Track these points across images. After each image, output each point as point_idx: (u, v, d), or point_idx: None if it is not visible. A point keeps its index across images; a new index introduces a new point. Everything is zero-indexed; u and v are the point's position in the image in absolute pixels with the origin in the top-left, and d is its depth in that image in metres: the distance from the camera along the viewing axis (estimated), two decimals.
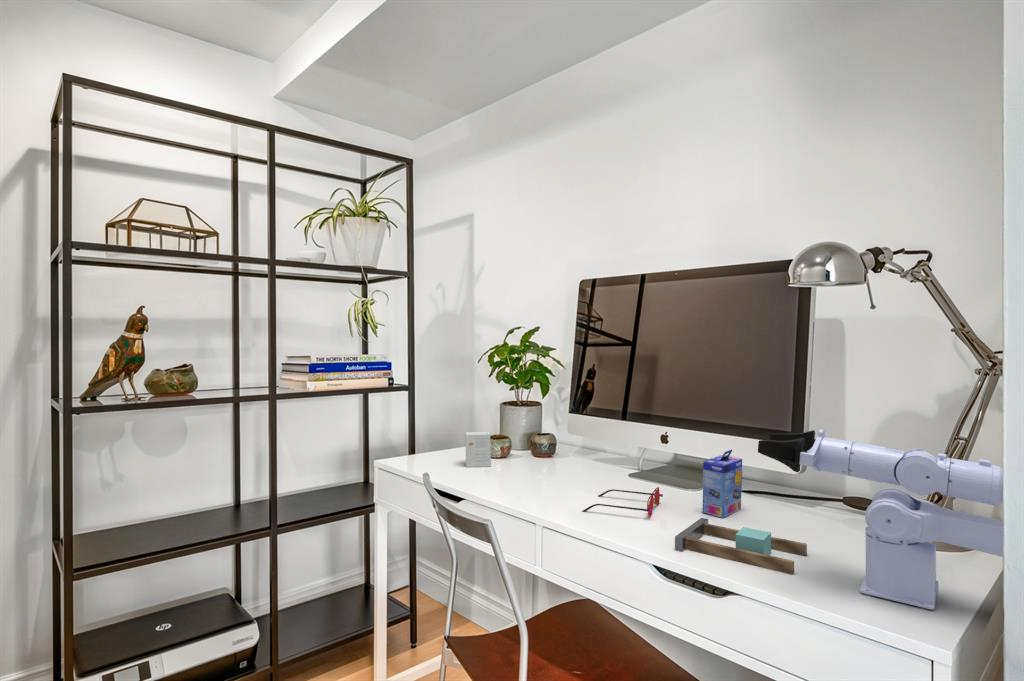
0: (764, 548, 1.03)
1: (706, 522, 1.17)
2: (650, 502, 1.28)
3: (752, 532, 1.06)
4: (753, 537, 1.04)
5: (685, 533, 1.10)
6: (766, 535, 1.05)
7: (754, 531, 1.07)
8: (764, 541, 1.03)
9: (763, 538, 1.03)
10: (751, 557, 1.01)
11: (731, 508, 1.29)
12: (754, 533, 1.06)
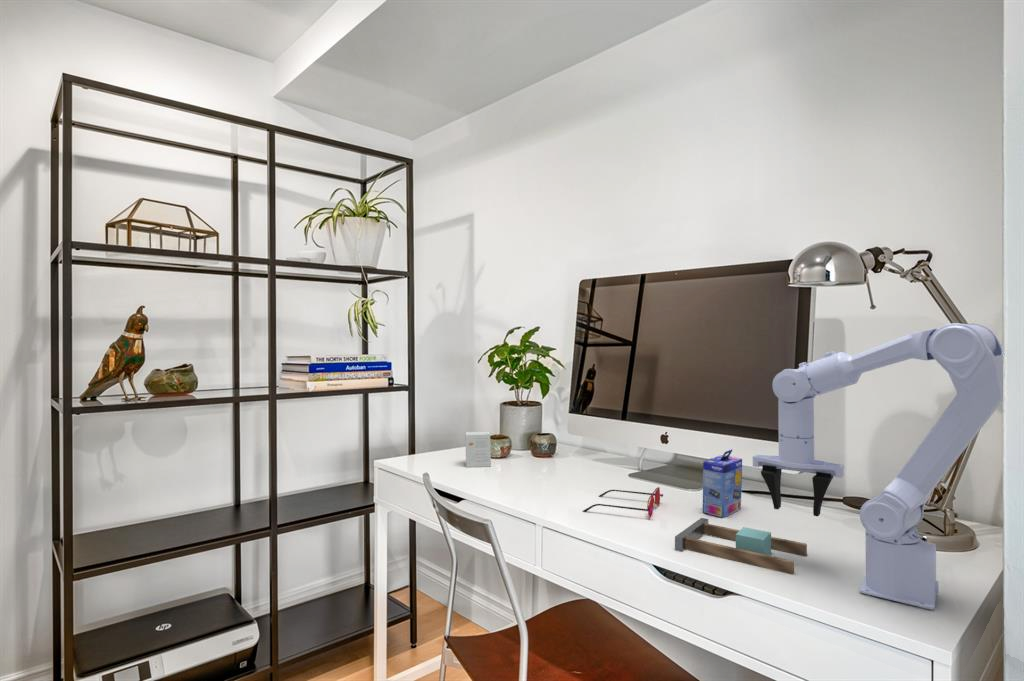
0: (764, 548, 1.03)
1: (706, 522, 1.17)
2: (650, 502, 1.28)
3: (752, 532, 1.06)
4: (753, 537, 1.04)
5: (685, 533, 1.10)
6: (766, 535, 1.05)
7: (754, 531, 1.07)
8: (764, 541, 1.03)
9: (763, 538, 1.03)
10: (751, 557, 1.01)
11: (731, 508, 1.29)
12: (754, 533, 1.06)
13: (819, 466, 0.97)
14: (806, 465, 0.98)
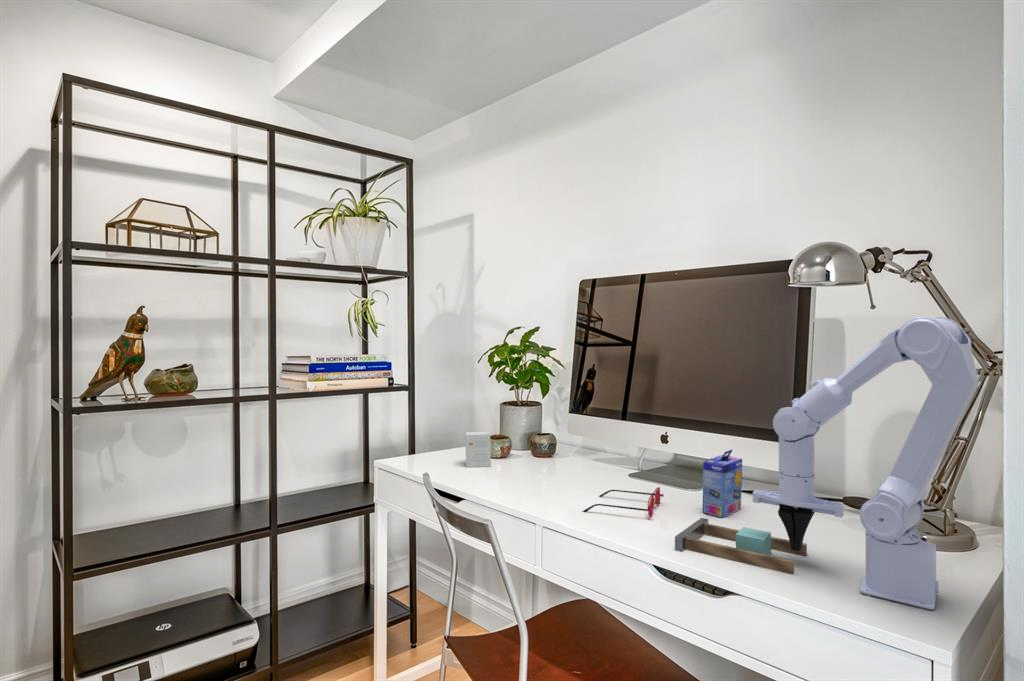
0: (764, 548, 1.03)
1: (706, 522, 1.17)
2: (651, 502, 1.27)
3: (752, 532, 1.06)
4: (753, 537, 1.04)
5: (685, 533, 1.10)
6: (766, 535, 1.05)
7: (754, 531, 1.07)
8: (764, 541, 1.03)
9: (763, 538, 1.03)
10: (751, 557, 1.01)
11: (731, 508, 1.29)
12: (754, 533, 1.06)
13: (819, 505, 0.97)
14: (806, 504, 0.98)
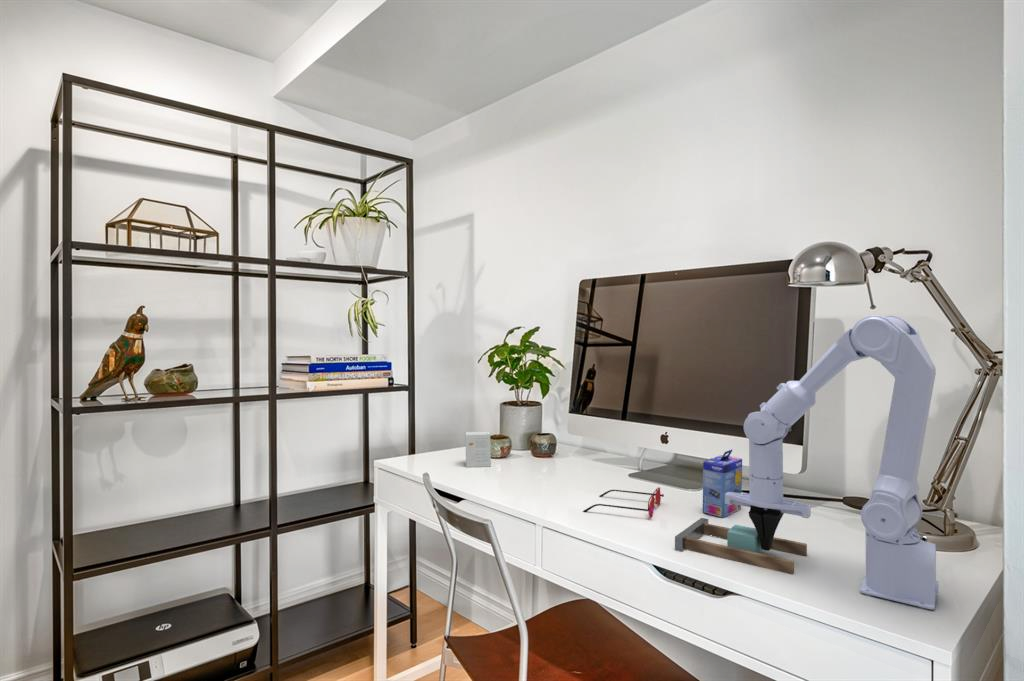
0: (755, 545, 1.04)
1: (706, 522, 1.17)
2: (651, 502, 1.27)
3: (744, 529, 1.07)
4: (744, 534, 1.05)
5: (685, 533, 1.10)
6: None
7: (746, 528, 1.08)
8: (755, 538, 1.04)
9: (754, 535, 1.04)
10: (751, 557, 1.01)
11: (731, 508, 1.29)
12: (745, 531, 1.07)
13: (787, 506, 1.00)
14: (774, 505, 1.01)
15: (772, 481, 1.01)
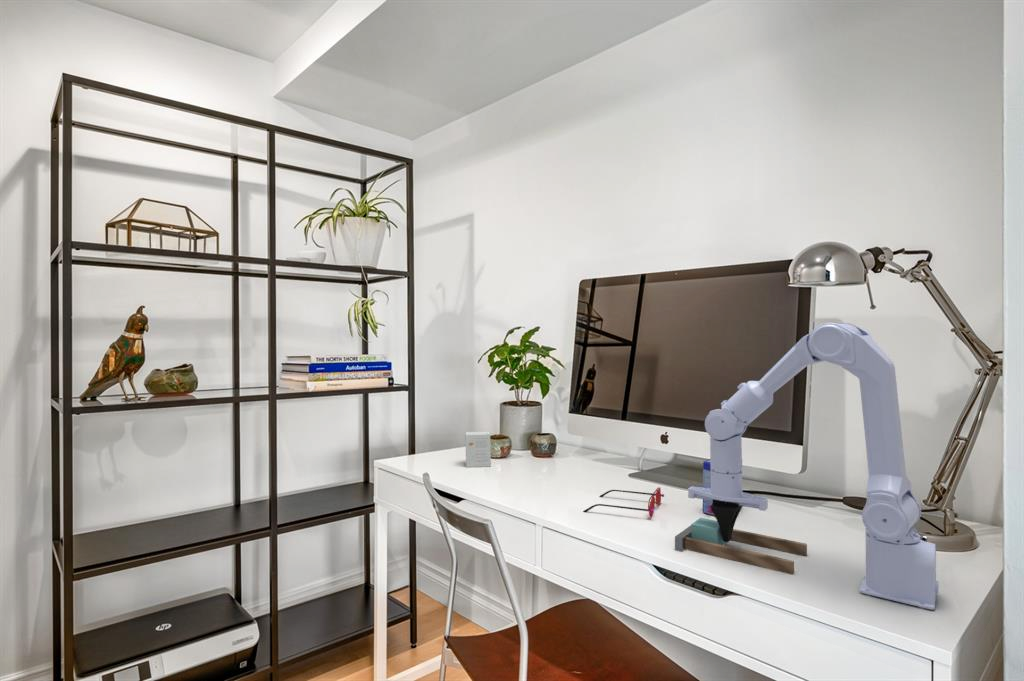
0: (717, 537, 1.08)
1: None
2: (651, 502, 1.27)
3: (708, 522, 1.12)
4: (707, 526, 1.09)
5: (685, 533, 1.10)
6: None
7: (709, 521, 1.12)
8: (717, 530, 1.08)
9: (716, 528, 1.08)
10: (751, 557, 1.01)
11: None
12: (709, 523, 1.11)
13: (745, 500, 1.05)
14: (733, 498, 1.06)
15: (731, 475, 1.06)
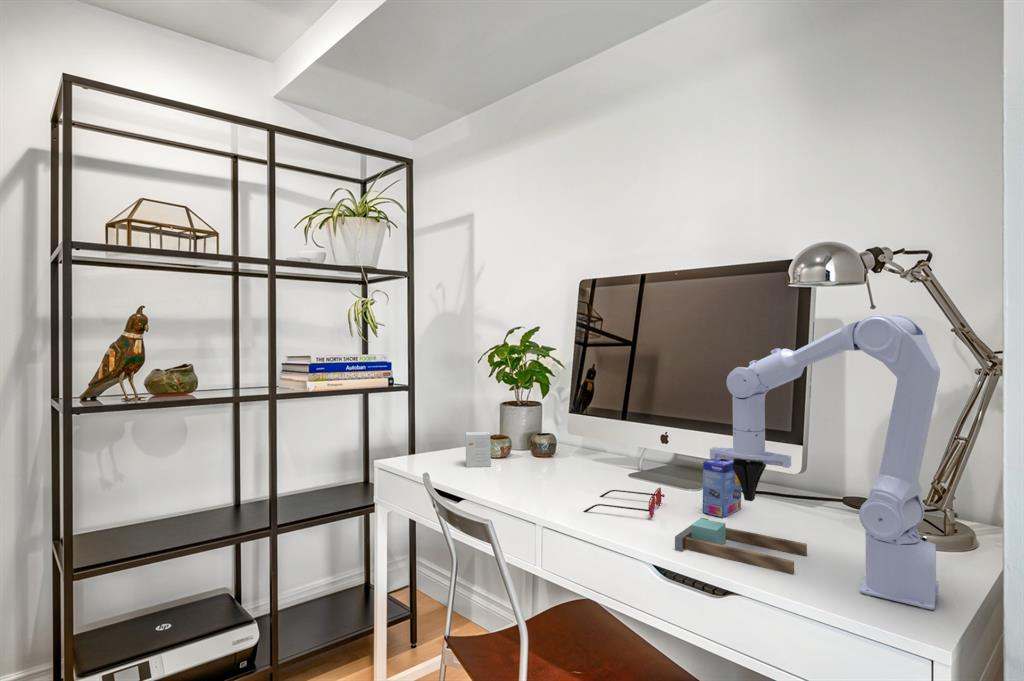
0: (717, 538, 1.08)
1: None
2: (652, 502, 1.27)
3: (708, 523, 1.12)
4: (707, 527, 1.09)
5: (685, 533, 1.10)
6: (720, 526, 1.10)
7: (709, 522, 1.12)
8: (717, 531, 1.08)
9: (717, 528, 1.08)
10: (751, 557, 1.01)
11: (731, 508, 1.29)
12: (709, 524, 1.11)
13: (768, 457, 1.05)
14: (757, 456, 1.05)
15: (754, 433, 1.06)
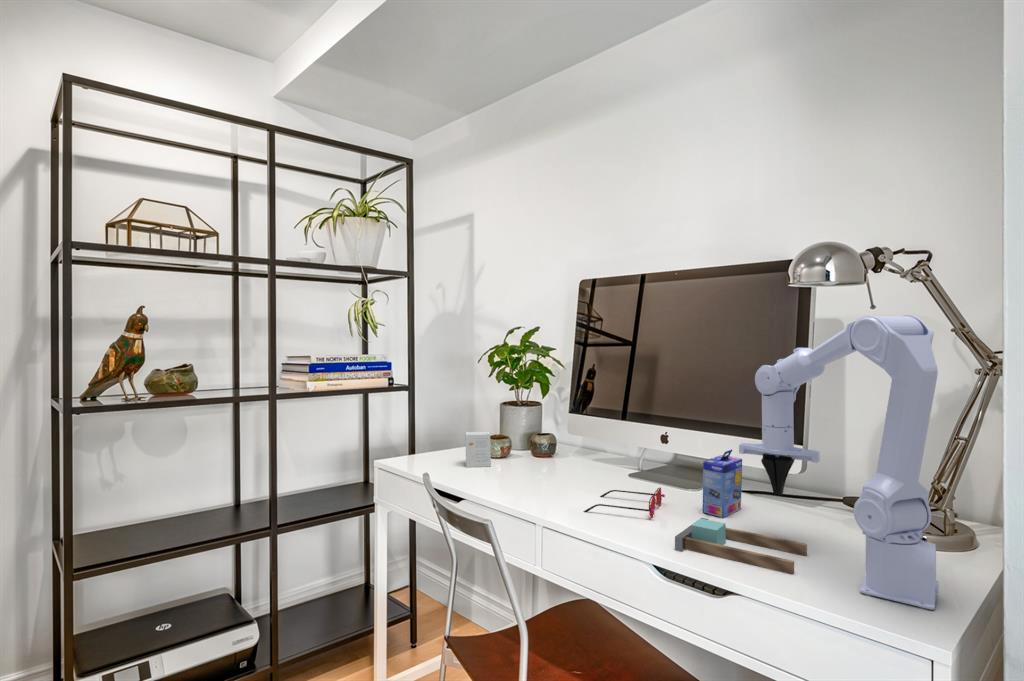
0: (717, 538, 1.08)
1: None
2: (652, 502, 1.27)
3: (708, 523, 1.12)
4: (707, 527, 1.09)
5: (685, 533, 1.10)
6: (720, 526, 1.10)
7: (709, 522, 1.12)
8: (717, 531, 1.08)
9: (717, 528, 1.08)
10: (751, 557, 1.01)
11: (731, 508, 1.29)
12: (709, 524, 1.11)
13: (797, 452, 1.08)
14: (786, 451, 1.09)
15: (783, 429, 1.09)
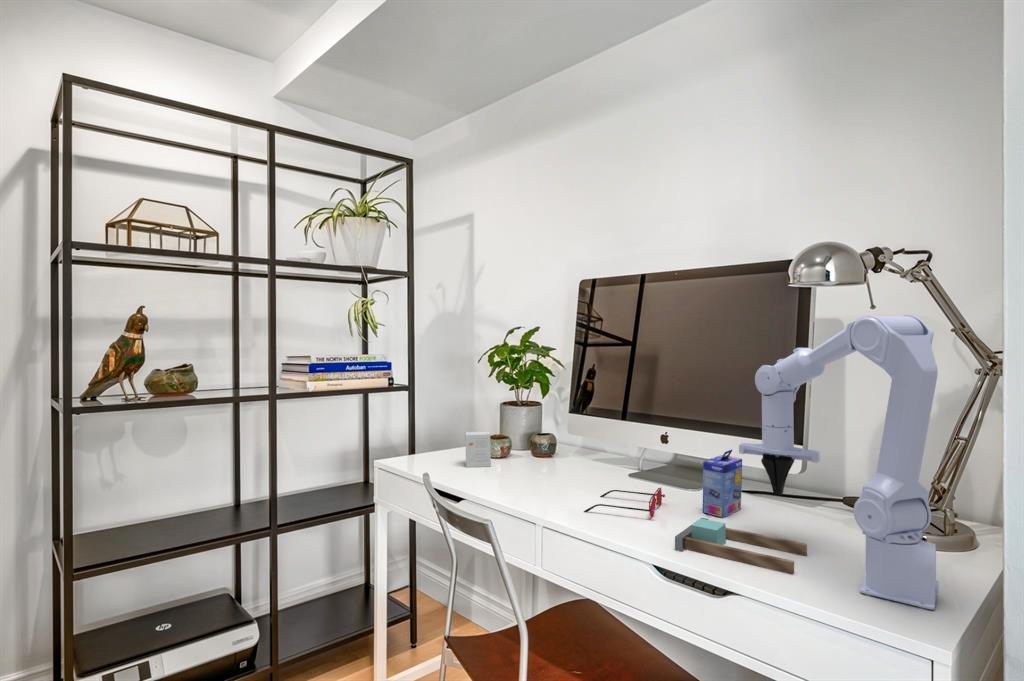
0: (717, 538, 1.08)
1: None
2: (652, 502, 1.27)
3: (708, 523, 1.12)
4: (707, 527, 1.09)
5: (685, 533, 1.10)
6: (720, 526, 1.10)
7: (709, 522, 1.12)
8: (717, 531, 1.08)
9: (717, 528, 1.08)
10: (751, 557, 1.01)
11: (731, 508, 1.29)
12: (709, 524, 1.11)
13: (797, 452, 1.08)
14: (786, 451, 1.09)
15: (783, 429, 1.09)
